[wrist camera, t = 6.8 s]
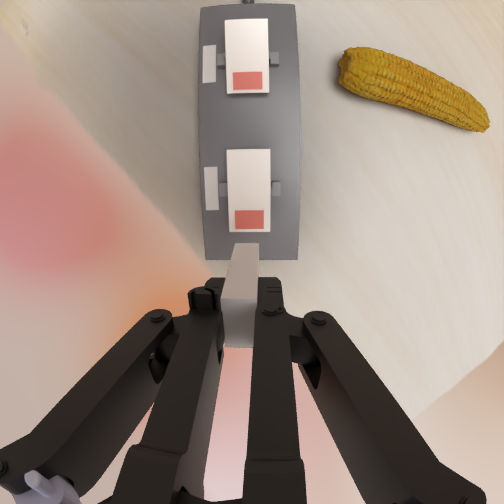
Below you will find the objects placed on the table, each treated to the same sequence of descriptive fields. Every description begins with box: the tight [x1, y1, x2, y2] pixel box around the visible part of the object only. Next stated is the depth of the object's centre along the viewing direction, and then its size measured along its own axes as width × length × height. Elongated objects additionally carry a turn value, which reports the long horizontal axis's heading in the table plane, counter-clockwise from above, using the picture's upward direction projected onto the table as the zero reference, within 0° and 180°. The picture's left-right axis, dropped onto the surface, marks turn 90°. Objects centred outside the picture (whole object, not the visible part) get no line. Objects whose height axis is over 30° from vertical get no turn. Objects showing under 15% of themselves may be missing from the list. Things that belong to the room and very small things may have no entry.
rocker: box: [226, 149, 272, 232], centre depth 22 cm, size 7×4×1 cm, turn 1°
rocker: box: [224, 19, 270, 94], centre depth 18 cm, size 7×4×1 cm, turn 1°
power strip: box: [198, 0, 301, 260], centre depth 22 cm, size 32×9×5 cm, turn 1°
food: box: [338, 47, 490, 133], centre depth 20 cm, size 21×6×6 cm, turn 87°
